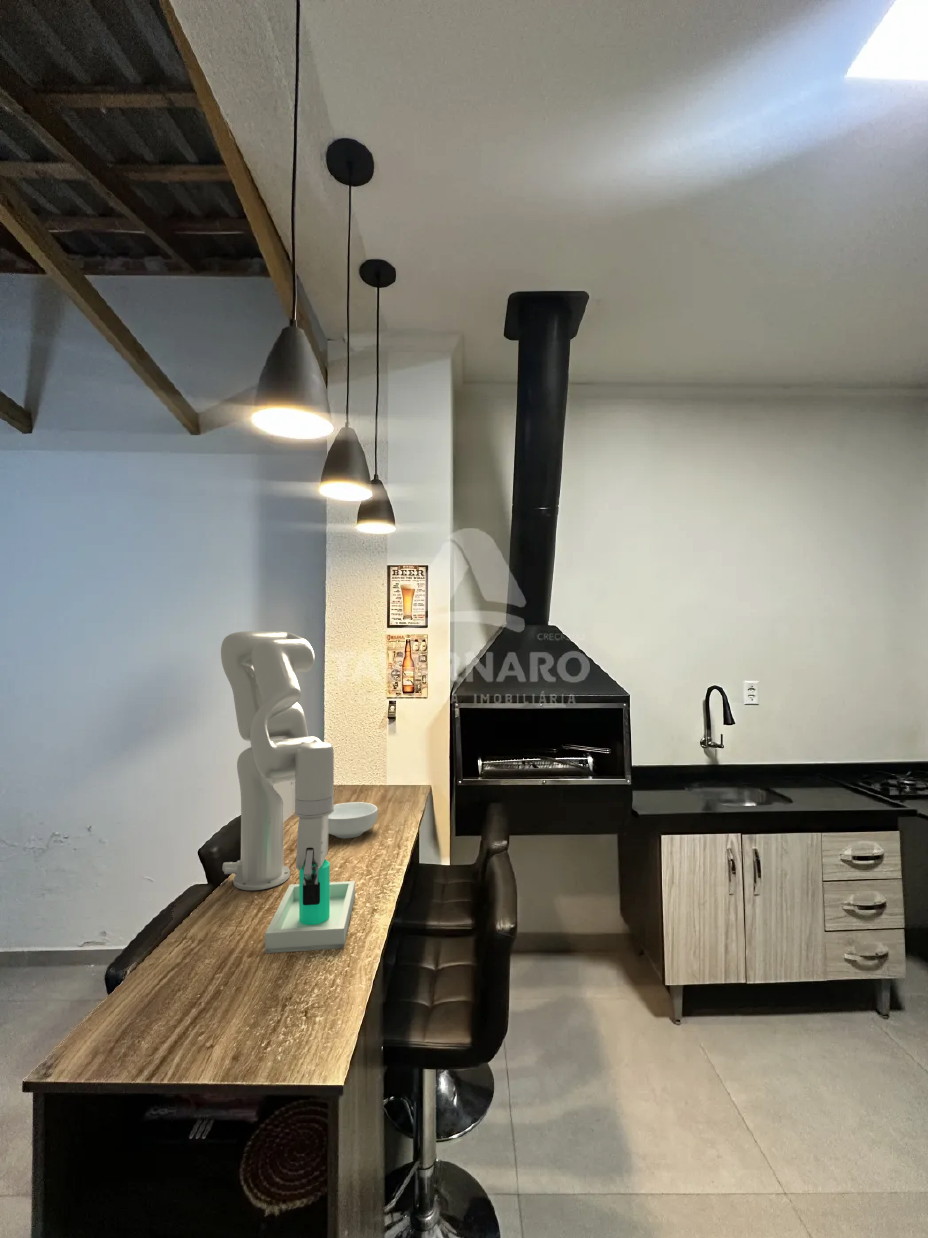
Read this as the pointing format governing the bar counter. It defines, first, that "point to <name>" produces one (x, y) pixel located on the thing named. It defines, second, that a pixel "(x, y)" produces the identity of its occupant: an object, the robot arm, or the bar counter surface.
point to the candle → (322, 910)
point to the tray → (300, 937)
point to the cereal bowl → (351, 819)
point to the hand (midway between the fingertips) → (314, 895)
